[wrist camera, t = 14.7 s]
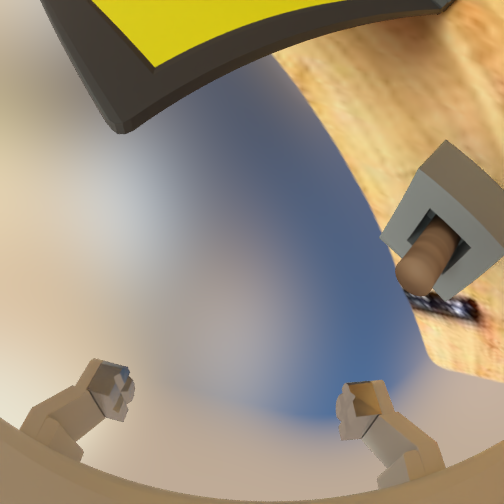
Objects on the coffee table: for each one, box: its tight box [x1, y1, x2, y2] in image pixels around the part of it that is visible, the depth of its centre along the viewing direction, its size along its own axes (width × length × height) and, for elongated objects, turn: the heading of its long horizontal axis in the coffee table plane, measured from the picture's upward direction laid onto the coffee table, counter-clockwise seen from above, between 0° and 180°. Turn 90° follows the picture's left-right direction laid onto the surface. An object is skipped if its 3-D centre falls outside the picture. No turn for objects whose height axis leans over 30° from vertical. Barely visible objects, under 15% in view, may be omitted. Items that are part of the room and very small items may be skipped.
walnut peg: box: [395, 214, 461, 296], centre depth 20 cm, size 4×4×10 cm
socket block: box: [379, 140, 504, 302], centre depth 22 cm, size 10×10×8 cm
